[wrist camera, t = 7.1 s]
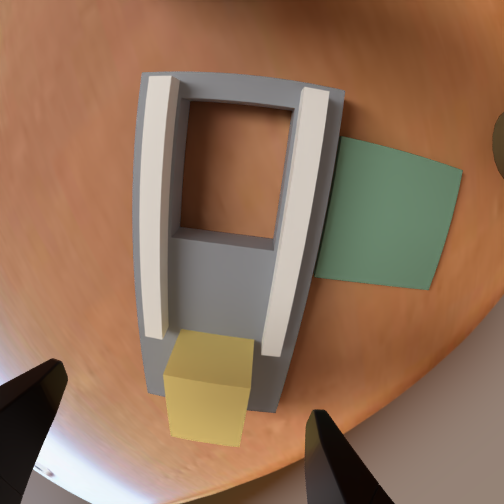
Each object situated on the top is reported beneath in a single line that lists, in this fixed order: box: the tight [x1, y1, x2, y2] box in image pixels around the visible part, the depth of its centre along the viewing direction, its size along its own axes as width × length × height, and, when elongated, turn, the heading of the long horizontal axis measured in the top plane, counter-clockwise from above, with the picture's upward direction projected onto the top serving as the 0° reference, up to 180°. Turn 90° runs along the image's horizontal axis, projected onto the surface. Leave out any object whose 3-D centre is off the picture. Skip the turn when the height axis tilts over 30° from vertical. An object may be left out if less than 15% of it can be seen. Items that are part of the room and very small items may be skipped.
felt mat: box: [314, 136, 463, 290], centre depth 18 cm, size 9×9×1 cm
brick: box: [163, 329, 254, 447], centre depth 19 cm, size 7×5×4 cm
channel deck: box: [132, 72, 345, 413], centre depth 18 cm, size 24×11×4 cm, turn 173°
